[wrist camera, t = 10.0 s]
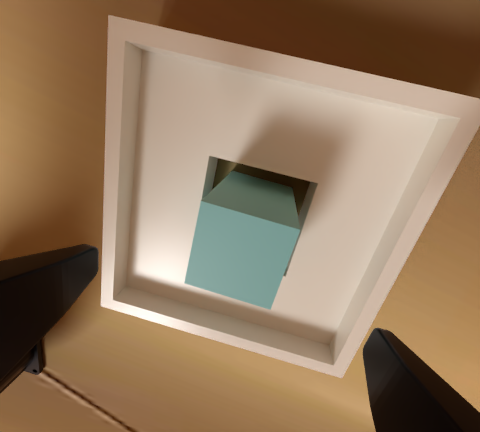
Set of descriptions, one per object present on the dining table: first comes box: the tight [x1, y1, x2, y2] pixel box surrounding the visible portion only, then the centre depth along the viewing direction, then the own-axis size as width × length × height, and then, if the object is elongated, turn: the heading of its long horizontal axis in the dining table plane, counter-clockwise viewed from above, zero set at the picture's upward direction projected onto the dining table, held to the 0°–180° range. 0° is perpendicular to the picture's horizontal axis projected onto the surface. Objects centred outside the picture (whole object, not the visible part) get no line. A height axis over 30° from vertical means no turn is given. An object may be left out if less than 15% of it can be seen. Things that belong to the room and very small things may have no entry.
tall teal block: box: [184, 171, 300, 310], centre depth 14 cm, size 4×4×7 cm
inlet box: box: [101, 15, 480, 378], centre depth 15 cm, size 16×16×4 cm
